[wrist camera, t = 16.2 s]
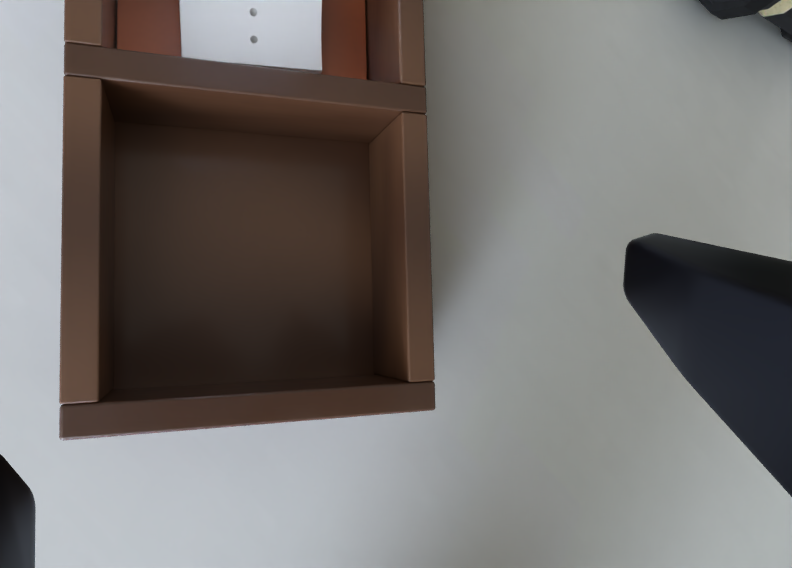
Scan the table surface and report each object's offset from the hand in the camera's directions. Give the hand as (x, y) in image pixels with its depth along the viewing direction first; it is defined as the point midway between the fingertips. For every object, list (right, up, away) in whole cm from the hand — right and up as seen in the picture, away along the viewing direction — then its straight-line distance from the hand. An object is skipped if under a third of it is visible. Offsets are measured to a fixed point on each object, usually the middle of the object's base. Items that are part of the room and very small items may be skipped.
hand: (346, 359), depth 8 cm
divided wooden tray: (-4, +7, +13) cm, 15 cm away
